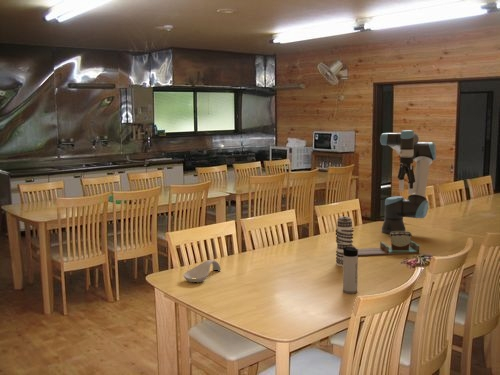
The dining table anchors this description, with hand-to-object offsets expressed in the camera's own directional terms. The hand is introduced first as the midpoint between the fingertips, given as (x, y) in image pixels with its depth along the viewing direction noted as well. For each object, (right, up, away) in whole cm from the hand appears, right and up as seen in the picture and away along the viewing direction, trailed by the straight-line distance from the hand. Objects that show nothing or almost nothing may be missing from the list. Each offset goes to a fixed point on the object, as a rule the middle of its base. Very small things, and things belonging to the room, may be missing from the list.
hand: (405, 192), depth 300 cm
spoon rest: (-116, -41, -54) cm, 134 cm away
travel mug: (-49, -43, -78) cm, 101 cm away
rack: (-17, -34, -16) cm, 41 cm away
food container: (-8, -32, -15) cm, 37 cm away
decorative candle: (-44, -37, -37) cm, 69 cm away
